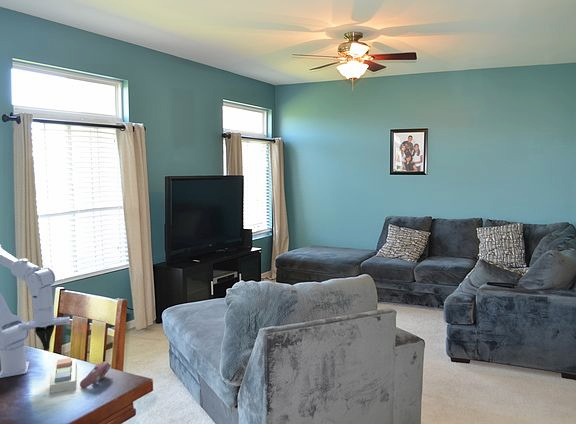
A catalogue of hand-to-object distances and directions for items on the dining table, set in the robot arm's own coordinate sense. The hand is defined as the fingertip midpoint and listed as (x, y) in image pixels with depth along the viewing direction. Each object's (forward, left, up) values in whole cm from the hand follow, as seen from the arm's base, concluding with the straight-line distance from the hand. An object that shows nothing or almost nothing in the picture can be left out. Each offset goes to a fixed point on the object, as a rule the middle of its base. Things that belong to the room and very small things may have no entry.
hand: (46, 348), depth 157 cm
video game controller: (+10, +14, -10) cm, 20 cm away
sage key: (+4, +5, -9) cm, 10 cm away
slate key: (+9, +4, -8) cm, 13 cm away
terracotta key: (-2, +5, -8) cm, 9 cm away
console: (+4, +5, -9) cm, 11 cm away
